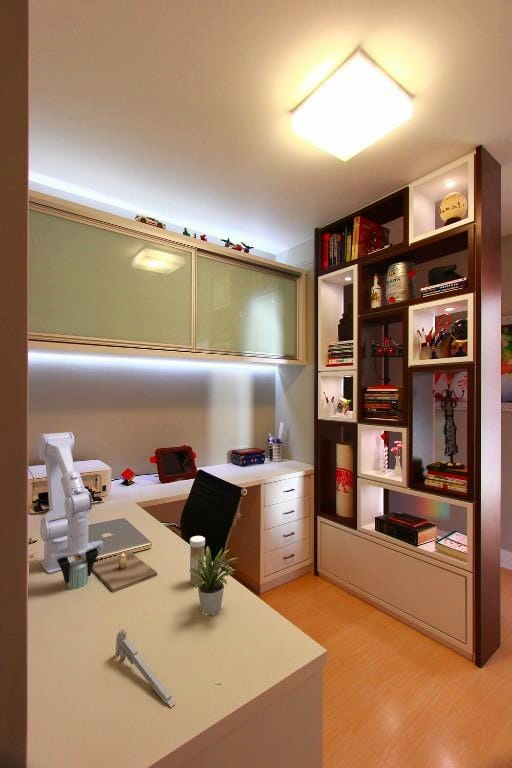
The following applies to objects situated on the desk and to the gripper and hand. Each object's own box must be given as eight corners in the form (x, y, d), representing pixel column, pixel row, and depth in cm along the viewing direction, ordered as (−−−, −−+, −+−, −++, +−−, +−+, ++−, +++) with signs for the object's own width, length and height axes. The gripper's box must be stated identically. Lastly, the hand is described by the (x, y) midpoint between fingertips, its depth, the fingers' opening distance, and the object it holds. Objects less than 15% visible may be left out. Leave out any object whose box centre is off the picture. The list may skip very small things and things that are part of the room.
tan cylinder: (117, 568, 118) (117, 553, 118) (124, 565, 120) (124, 551, 120) (120, 570, 116) (120, 555, 116) (127, 568, 118) (127, 553, 118)
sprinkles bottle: (207, 583, 111) (207, 539, 111) (193, 588, 108) (193, 542, 108) (200, 577, 115) (201, 534, 115) (187, 581, 112) (187, 537, 112)
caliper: (115, 656, 81) (115, 628, 81) (119, 653, 82) (120, 625, 82) (170, 709, 68) (171, 675, 68) (175, 706, 68) (175, 672, 69)
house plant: (221, 636, 87) (221, 568, 87) (172, 622, 92) (173, 557, 93) (245, 604, 100) (245, 544, 101) (201, 593, 106) (201, 536, 106)
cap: (64, 583, 110) (64, 563, 111) (84, 576, 114) (84, 557, 114) (70, 590, 106) (70, 570, 106) (90, 583, 110) (90, 563, 110)
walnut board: (88, 567, 120) (88, 564, 120) (129, 554, 130) (129, 551, 130) (113, 592, 106) (113, 588, 106) (157, 575, 115) (157, 572, 115)
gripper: (55, 544, 103) (54, 592, 102) (107, 530, 113) (106, 574, 112) (48, 536, 108) (48, 583, 108) (98, 524, 118) (98, 566, 118)
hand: (77, 578), depth 110 cm, fingers closed on cap, 6 cm apart
